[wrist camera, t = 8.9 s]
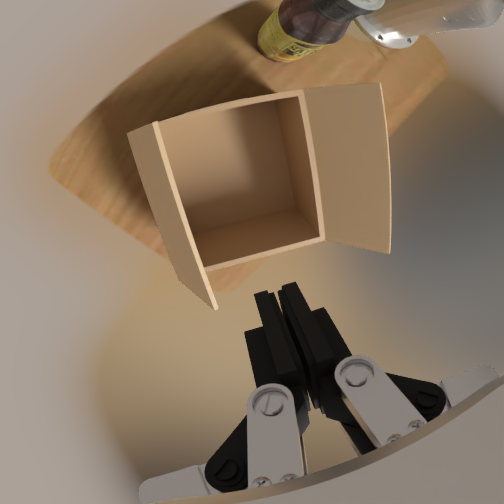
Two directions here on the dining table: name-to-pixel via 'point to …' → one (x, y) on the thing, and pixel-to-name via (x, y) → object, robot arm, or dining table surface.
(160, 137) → the flap
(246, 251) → the carton
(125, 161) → the dining table surface
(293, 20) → the sauce bottle
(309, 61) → the dining table surface
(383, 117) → the flap
